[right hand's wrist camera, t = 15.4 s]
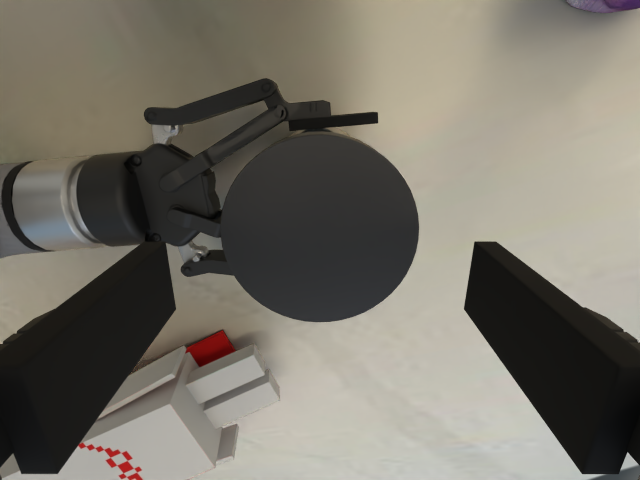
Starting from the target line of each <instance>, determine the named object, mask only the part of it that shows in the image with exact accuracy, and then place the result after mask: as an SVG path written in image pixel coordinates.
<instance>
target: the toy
mask: <svg viewBox="0 0 640 480" xmlns="http://www.w3.org/2000/svg"><path fill="white" fill-rule="evenodd" d="M278 401H280V387H279V385H278V383H277V382H276V380H275V378H274V376H273V375H272V373H271V371H270V369H268V370H266V371H265V361H264V359H263V357H262V355H261V354H260V352H259V350H258V348H257V347H256V345H255V343H253V344H251V345H249V346H247V347H244V348H242V349H240V350H238V351H236V350H235V349H234V347H233V346H232V344H231V343H230V341H229V339H228V338H227V336H226V335H225V333H224V331H223V330H222V331H220V332H218V333H216V334H214V335H212V336H210V337H208V338H206V339H204V340H201V341H199V342H197V343H195V344H193V345H191V346H189V347H187V348H186V347H185V346H184V345H183V346H181V347H180V348H178V349H176V350H174V351H172V352H171V353H169V354H167V355H165V356H163V357H162V358H160V359H158V360H156V361H154V362H153V363H151V364H149V365H147V366H145V367H143V368H142V369H140V370H138V371H136V372H134V373H133V374H131V375H129V376H128V377H127V378H126V380H125V381H124V382H123V384H122V385H121V387H120V388H119V389H118V391H117V392H116V394H115V395H114V396H113V398H112V399H111V400H110V402H109V403H108V405H107V406H106V407H105V409H104V410H103V412H102V413H101V414H100V416H99V417H98V419H97V420H96V421H95V423H94V424H93V426H92V427H91V428H90V430H89V431H88V433H87V434H86V435H85V437H84V438H83V440H82V441H81V442H80V444H79V445H78V447H77V448H76V449H75V451H74V452H73V454H72V455H71V456H70V458H69V459H68V461H67V462H66V463H65V465H64V466H63V467H62V469H61V470H60V472H59V473H58V474H21V472H20V469H19V467H18V464H17V462H16V459H15V457H14V454H12V455H11V456H10V457H9V458H8V460H7V461H6V462H5V463H4V464H3V465H2V466H1V467H0V475H1V477H2V480H189V479H191V478H193V477H195V476H198V475H200V474H202V473H204V472H207V471H209V470H211V469H213V468H215V466H216V465H219V464H222V463H225V462H228V461H231V460H233V459H234V456H235V449H236V443H237V436H238V430H239V426H238V424H235V425H232V426H229V427H226V428H223V429H222V426H224V425H226V424H229V423H231V422H233V421H235V420H237V419H240V418H242V417H244V416H246V415H249V414H251V413H253V412H255V411H258V410H260V409H262V408H264V407H267V406H269V405H271V404H273V403H276V402H278Z"/></svg>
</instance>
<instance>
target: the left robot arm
mask: <svg viewBox="0 0 640 480" xmlns="http://www.w3.org/2000/svg"><path fill="white" fill-rule="evenodd" d="M263 100H264V101H265V103H266V105H267V107H268V110H267V111H265V112H263V113H262V114H260V115H259V116H257V117H256V118H254V119H253V120H251V121H250V122H248V123H246V124H245V125H243V126H242V127H240V128H239V129H237V130H236V131H234V132H233V133H231V134H230V135H228V136H226V137H225V138H223V139H222V140H220V141H219V142H217V143H216V144H214V145H213V146H211V147H210V148H208V149H206V150H205V151H203V152H201V153H200V154H198V155H196V156H195V157H193V156H192V155H190V154H188V153H186V152H185V151H183V150H181V149H179V148H178V147H176V146H174V145H172V144H171V139H172V138H173V137H174V136H176V135H179V134H181V133H182V131H183V125H185V124H192V123H196V122H200V121H203V120H206V119H209V118H212V117H215V116H218V115H221V114H224V113H227V112H230V111H233V110H236V109H239V108H242V107H245V106H248V105H251V104H254V103H257V102H260V101H263ZM144 117H145V120H146V121H147V122H148V123H149V124H151V125H152V134H153V145H151V146H149V147H148V148H147V149H145V150H143V151H135V152H124V153H113V154H102V155H95V156H92V157H88V156H79V157H68V158H57V159H45V160H36V161H30V162H25V163H10V164H0V258H3V257H6V256H10V255H17V254H27V253H38V252H50V251H62V250H76V249H89V248H102V247H105V246H113V247H114V246H126V245H139V244H142V243H143V242H166V243H168V244H171V245H173V246H177V247H178V249H179V251H180V254H181V256H182V259H183V262H184V265H183V266H182V267H181V272H182V274H183V275H184V276H187V277H191V276H196V275H200V274H205V273H216V274H225V275H234V274H233V273H232V271H231V269H230V267H229V265H228V262H227V260H226V257H225V254H224V250H208V249H207V247H206V246H198V245H196V244H194V243H193V241H192V240H193V239H194V238H195V237H196V236H197V235H198V234H199V233H200V232H202V233H204V234H207V235H210V236H213V237H221V216H222V209H220V208H221V207H220V202H219V198H218V196H217V194H216V191H215V181H216V180H215V175H214V171H213V172H212V171H211V169H210V168H211V167H213V166H214V165H216V164H217V163H219V162H220V161H222V160H223V159H225V158H227V157H228V156H230V155H231V154H233V153H234V152H236V151H237V150H239V149H241V148H242V147H244V146H245V145H247V144H248V143H250V142H252V141H253V140H255V139H256V138H258V137H259V136H261V135H263V134H264V133H266V132H267V131H269V130H270V129H272V128H274V127H275V126H277V125H278V124H280V123H281V122H283V121H289V130H290V131H297V130H308V129H319V128H330V127H341V126H352V125H363V124H375V123H378V112H367V113H356V114H345V115H334V116H331V110H330V102H326V101H323V100H321V101H311V102H300V103H288V102H286V101H285V100H284V99H283V97H282V95H281V93H280V91H279V89H278V86H277V84H276V83H275V82H274V81H272V80H270V79H267V78H265V79H261V80H258V81H255V82H252V83H249V84H246V85H243V86H240V87H237V88H234V89H231V90H228V91H225V92H222V93H220V94H217V95H214V96H211V97H208V98H205V99H202V100H199V101H196V102H193V103H190V104H187V105H184V106H181V107H178V108H166V107H151V108H147V109H146V110H145V112H144Z"/></svg>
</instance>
